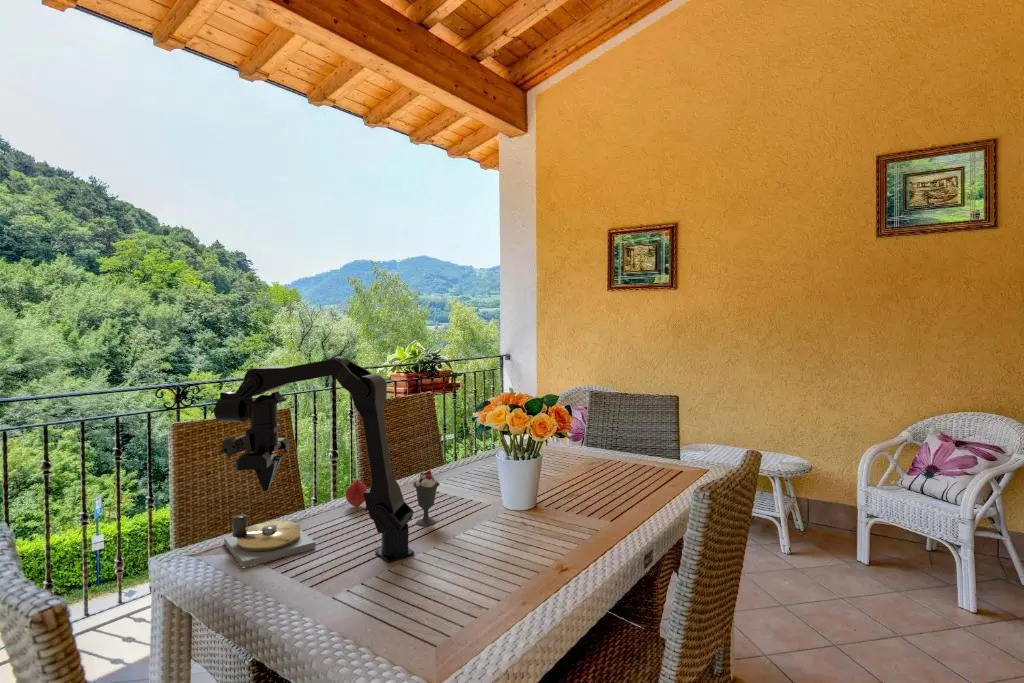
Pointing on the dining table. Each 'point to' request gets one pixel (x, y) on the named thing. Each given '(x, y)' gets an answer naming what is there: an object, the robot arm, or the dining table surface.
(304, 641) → the dining table surface
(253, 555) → the base plate
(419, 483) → the sundae
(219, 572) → the dining table surface
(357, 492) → the onion
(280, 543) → the handwheel
